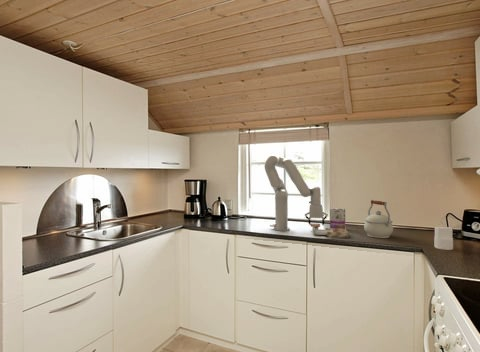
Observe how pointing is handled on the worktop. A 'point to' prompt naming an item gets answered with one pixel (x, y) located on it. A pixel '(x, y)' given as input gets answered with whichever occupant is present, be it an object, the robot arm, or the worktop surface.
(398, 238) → the worktop surface
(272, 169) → the robot arm
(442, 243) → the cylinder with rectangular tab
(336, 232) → the caddy
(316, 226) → the pink dome
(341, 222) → the candy bar box
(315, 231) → the tray
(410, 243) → the worktop surface
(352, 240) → the worktop surface
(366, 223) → the kettle
